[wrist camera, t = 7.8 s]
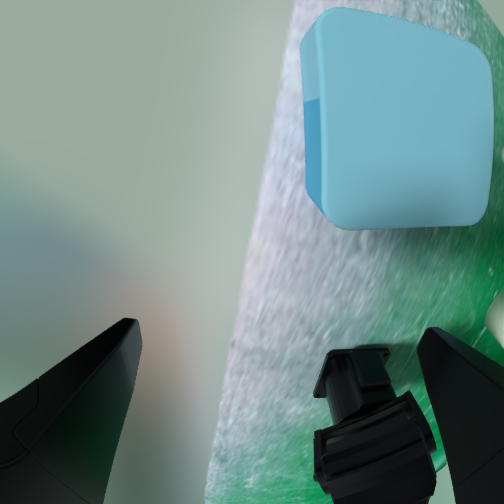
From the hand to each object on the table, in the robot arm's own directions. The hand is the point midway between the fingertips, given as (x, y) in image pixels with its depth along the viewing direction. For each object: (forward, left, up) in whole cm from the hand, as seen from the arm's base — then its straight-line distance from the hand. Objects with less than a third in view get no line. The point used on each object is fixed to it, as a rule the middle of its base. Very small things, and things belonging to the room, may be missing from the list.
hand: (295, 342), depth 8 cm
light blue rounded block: (+8, -14, -10) cm, 19 cm away
